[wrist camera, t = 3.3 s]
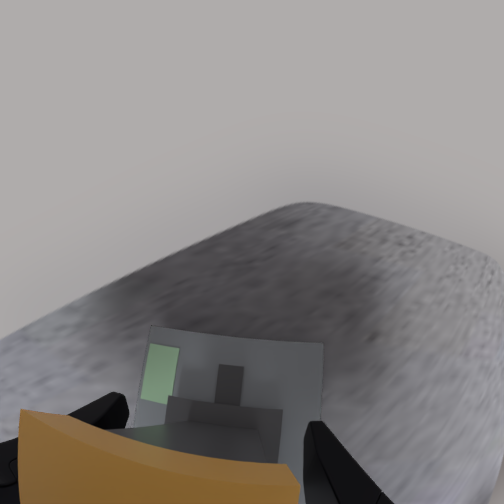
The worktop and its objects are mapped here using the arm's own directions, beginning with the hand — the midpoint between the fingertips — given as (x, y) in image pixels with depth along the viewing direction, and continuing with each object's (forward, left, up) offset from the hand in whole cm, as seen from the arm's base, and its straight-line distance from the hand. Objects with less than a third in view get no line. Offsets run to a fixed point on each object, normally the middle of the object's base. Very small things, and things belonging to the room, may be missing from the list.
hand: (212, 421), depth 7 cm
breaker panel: (-1, 0, -7) cm, 7 cm away
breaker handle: (-1, 0, -4) cm, 5 cm away
